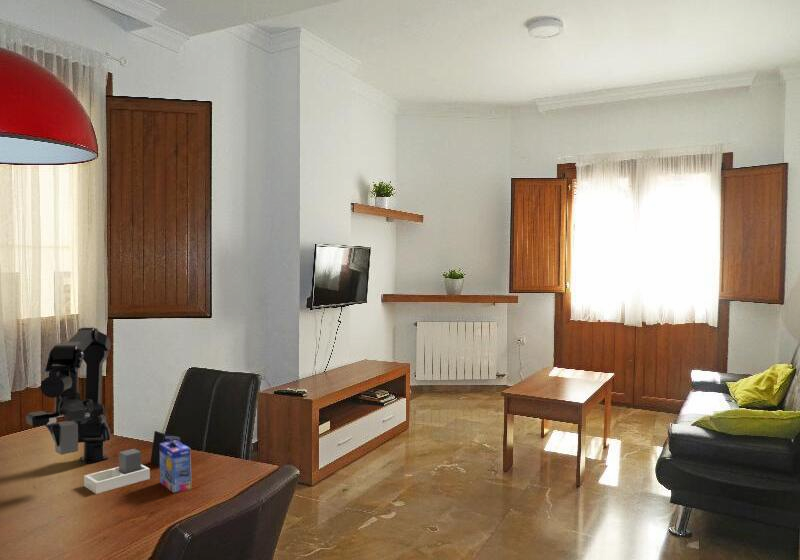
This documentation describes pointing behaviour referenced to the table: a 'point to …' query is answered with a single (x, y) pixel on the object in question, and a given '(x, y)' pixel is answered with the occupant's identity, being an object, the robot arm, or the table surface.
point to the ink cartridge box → (175, 465)
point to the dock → (114, 479)
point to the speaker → (155, 449)
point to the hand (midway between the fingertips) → (66, 443)
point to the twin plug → (129, 461)
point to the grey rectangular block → (67, 437)
